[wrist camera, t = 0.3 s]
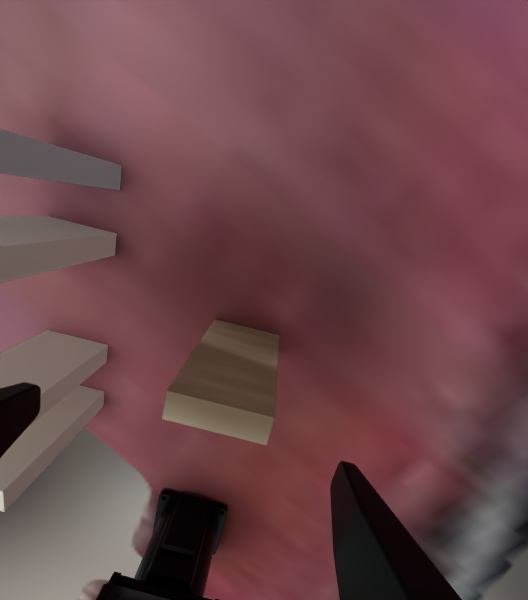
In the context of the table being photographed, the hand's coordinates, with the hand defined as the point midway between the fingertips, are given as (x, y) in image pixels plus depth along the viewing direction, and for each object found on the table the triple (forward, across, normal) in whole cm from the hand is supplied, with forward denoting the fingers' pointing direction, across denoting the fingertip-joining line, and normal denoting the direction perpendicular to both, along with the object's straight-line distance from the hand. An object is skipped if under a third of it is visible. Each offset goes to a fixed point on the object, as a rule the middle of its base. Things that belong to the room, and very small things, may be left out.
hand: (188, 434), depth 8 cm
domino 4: (+13, +13, +11) cm, 22 cm away
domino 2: (+13, +12, -2) cm, 18 cm away
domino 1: (+13, +12, -7) cm, 19 cm away
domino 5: (+13, 0, +2) cm, 13 cm away
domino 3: (+13, +13, +7) cm, 19 cm away
